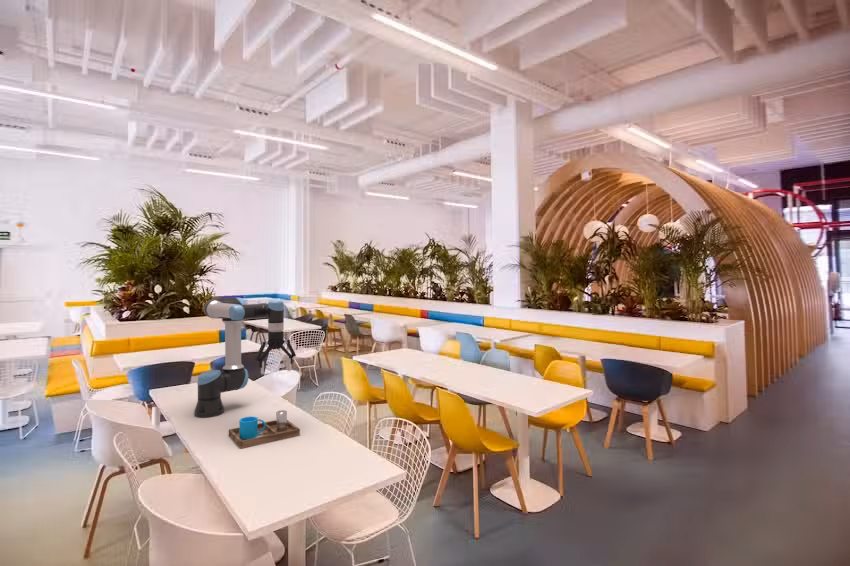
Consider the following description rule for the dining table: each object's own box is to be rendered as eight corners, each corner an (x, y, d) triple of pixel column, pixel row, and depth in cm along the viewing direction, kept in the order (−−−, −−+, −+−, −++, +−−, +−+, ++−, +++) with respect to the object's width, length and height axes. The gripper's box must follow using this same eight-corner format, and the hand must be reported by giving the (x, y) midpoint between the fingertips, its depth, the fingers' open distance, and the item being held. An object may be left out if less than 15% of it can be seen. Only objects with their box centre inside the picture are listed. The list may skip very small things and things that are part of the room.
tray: (228, 435, 215) (228, 429, 215) (285, 423, 232) (285, 418, 232) (240, 448, 199) (240, 442, 199) (299, 435, 216) (299, 429, 216)
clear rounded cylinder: (274, 429, 221) (274, 411, 221) (284, 427, 224) (284, 409, 224) (278, 432, 217) (278, 414, 217) (288, 430, 220) (288, 412, 220)
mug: (240, 440, 205) (240, 423, 205) (238, 434, 212) (238, 418, 212) (267, 436, 211) (267, 419, 211) (264, 430, 218) (264, 414, 218)
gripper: (253, 333, 214) (252, 376, 214) (302, 329, 229) (302, 370, 230) (248, 331, 220) (248, 374, 220) (296, 328, 235) (296, 367, 236)
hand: (275, 372), depth 225 cm, fingers open, 13 cm apart
